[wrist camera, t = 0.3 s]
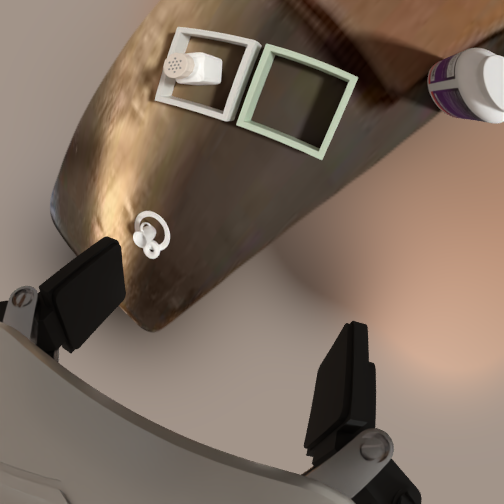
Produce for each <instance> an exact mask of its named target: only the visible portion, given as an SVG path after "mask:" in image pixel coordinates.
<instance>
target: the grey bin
mask: <svg viewBox="0 0 504 504" xmlns="http://www.w3.org/2000/svg"><path fill="white" fill-rule="evenodd" d="M191 36H194V37H200V38H206V39H212V40H217V41H222V42H227V43H232V44H236V45H240V46H244V47H247V48H246V50H245V53H244V55H243V58H242V61H241V63H240V66H239V69H238V71H237V74H236V77H235V80H234V82H233V85H232V88H231V91H230V94H229V97H228V99H227V102H226V105H225V108H224V111H222V110H219V109H215V108H212V107H209V106H206V105H202V104H199V103H195V102H192V101H188V100H185V99H181V98H177V97H173V96H171V95H172V92H173V89H174V85H175V82H176V80H175V78H170V77H168V76H167V75H166V74H165V73H164V69H163V72H162V75H161V79H160V82H159V86H158V89H157V93H156V97H155V101H159V102H163V103H167V104H171V105H174V106H178V107H181V108H185V109H188V110H192V111H195V112H198V113H201V114H205V115H208V116H211V117H214V118H217V119H220V120H223V121H226V122H227V121H234V119H235V116H236V113H237V111H238V108H239V105H240V102H241V99H242V97H243V94H244V91H245V88H246V86H247V83H248V80H249V78H250V75H251V72H252V70H253V67H254V64H255V62H256V59H257V57H258V54H259V52H260V49H261V47H262V45H261V44H259V43H258V42H257V41H255V40H251V39H247V38H242V37H238V36H233V35H228V34H223V33H218V32H212V31H206V30H199V29H192V28H184V27H177V30H176V33H175V36H174V38H173V41H172V44H171V47H170V50H169V53H168V56H169V55H171V54H173V53H183V54H185V51H186V48H187V45H188V43H189V40H190V37H191ZM168 56H167V57H168Z"/></svg>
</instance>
